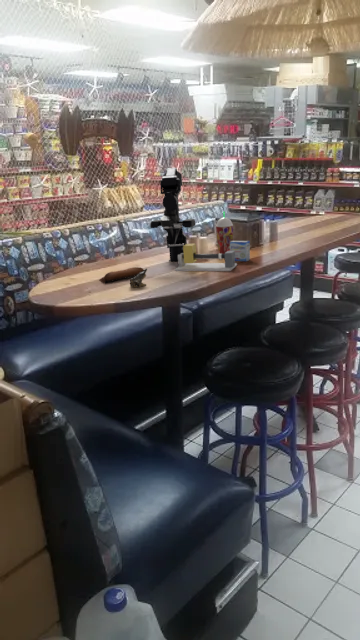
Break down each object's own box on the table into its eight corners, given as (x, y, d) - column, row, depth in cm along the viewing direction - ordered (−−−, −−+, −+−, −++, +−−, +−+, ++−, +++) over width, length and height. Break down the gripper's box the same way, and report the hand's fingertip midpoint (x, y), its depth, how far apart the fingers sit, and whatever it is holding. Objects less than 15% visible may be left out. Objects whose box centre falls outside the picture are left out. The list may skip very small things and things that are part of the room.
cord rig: (175, 270, 220) (174, 254, 218) (184, 264, 230) (183, 249, 228) (230, 271, 211) (229, 254, 209) (237, 265, 222) (236, 249, 220)
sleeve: (184, 263, 221) (183, 245, 219) (188, 260, 225) (186, 243, 223) (193, 263, 220) (192, 245, 217) (196, 260, 224) (195, 243, 222)
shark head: (144, 286, 201) (142, 268, 201) (153, 285, 196) (151, 267, 196) (127, 288, 197) (125, 270, 196) (136, 288, 192) (134, 269, 191)
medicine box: (230, 261, 231) (229, 241, 229) (233, 259, 235) (233, 240, 232) (246, 261, 228) (246, 242, 225) (250, 259, 231) (249, 240, 229)
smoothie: (234, 254, 245) (233, 211, 239) (217, 255, 246) (215, 213, 239) (233, 251, 253) (232, 210, 247) (216, 252, 253) (214, 211, 247)
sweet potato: (136, 272, 220) (138, 260, 216) (143, 283, 216) (146, 271, 212) (97, 280, 212) (98, 267, 207) (104, 291, 208) (105, 279, 203)
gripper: (143, 209, 214) (146, 247, 219) (186, 208, 207) (188, 247, 212) (153, 206, 224) (156, 242, 228) (194, 205, 217) (196, 242, 222)
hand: (174, 243), depth 223 cm, fingers closed
